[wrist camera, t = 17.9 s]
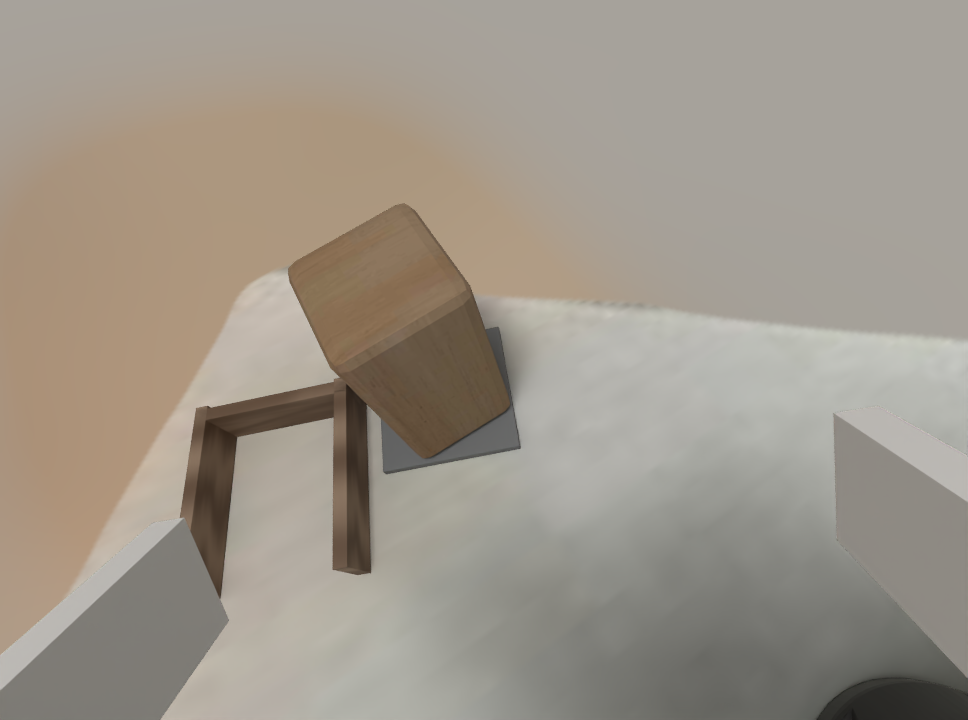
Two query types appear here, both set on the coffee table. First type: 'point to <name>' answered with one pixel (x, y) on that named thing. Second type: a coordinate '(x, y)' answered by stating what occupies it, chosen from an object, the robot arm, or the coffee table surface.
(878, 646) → the coffee table surface
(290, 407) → the wooden u-shaped frame
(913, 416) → the coffee table surface
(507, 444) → the pad
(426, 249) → the wooden block
